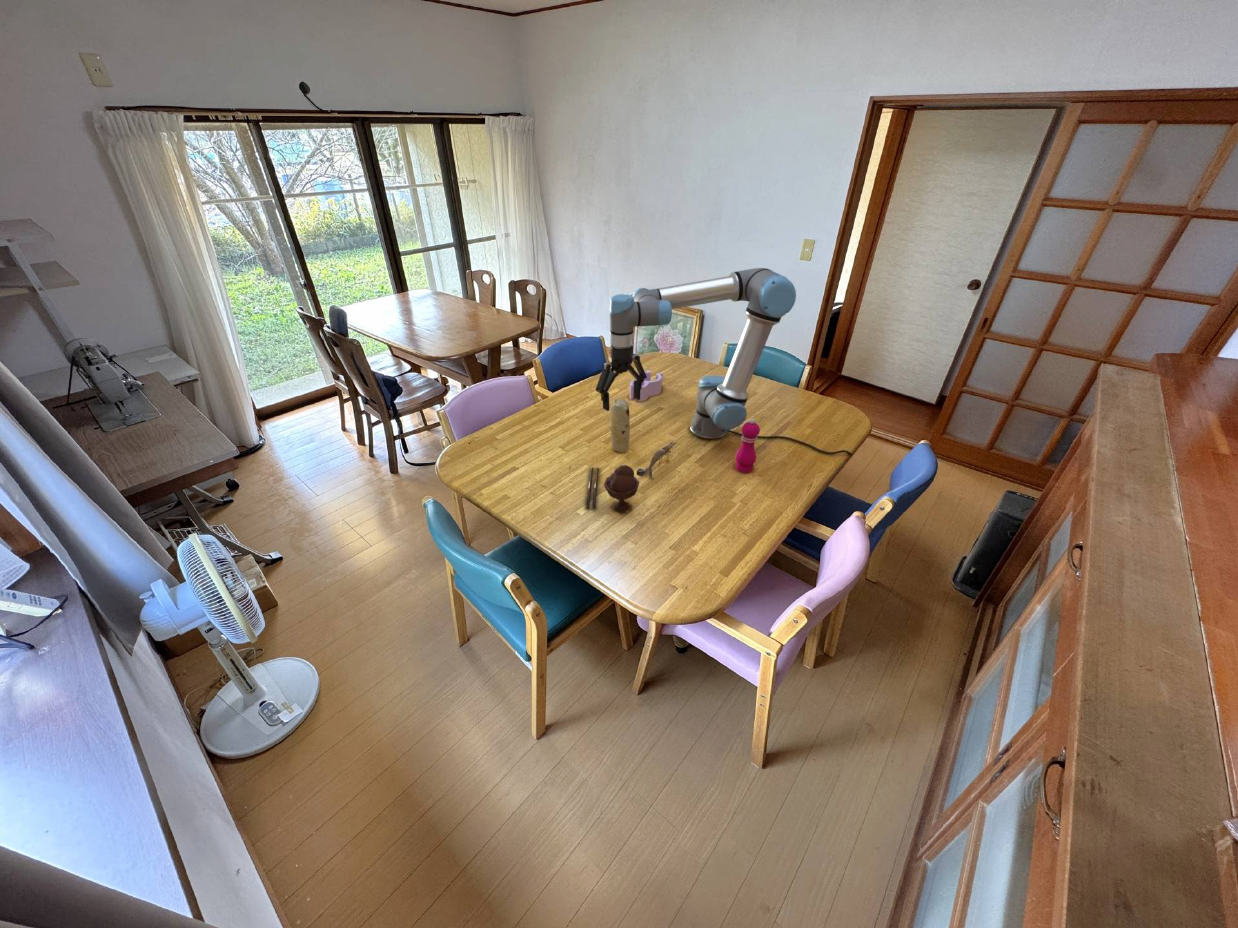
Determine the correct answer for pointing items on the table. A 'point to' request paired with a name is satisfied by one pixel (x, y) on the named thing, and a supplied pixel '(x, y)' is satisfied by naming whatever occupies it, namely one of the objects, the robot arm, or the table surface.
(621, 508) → the ice cream bowl
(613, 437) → the food model
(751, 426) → the pepper mill
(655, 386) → the clip
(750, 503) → the table surface
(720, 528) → the table surface
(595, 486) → the chopsticks
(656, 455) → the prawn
